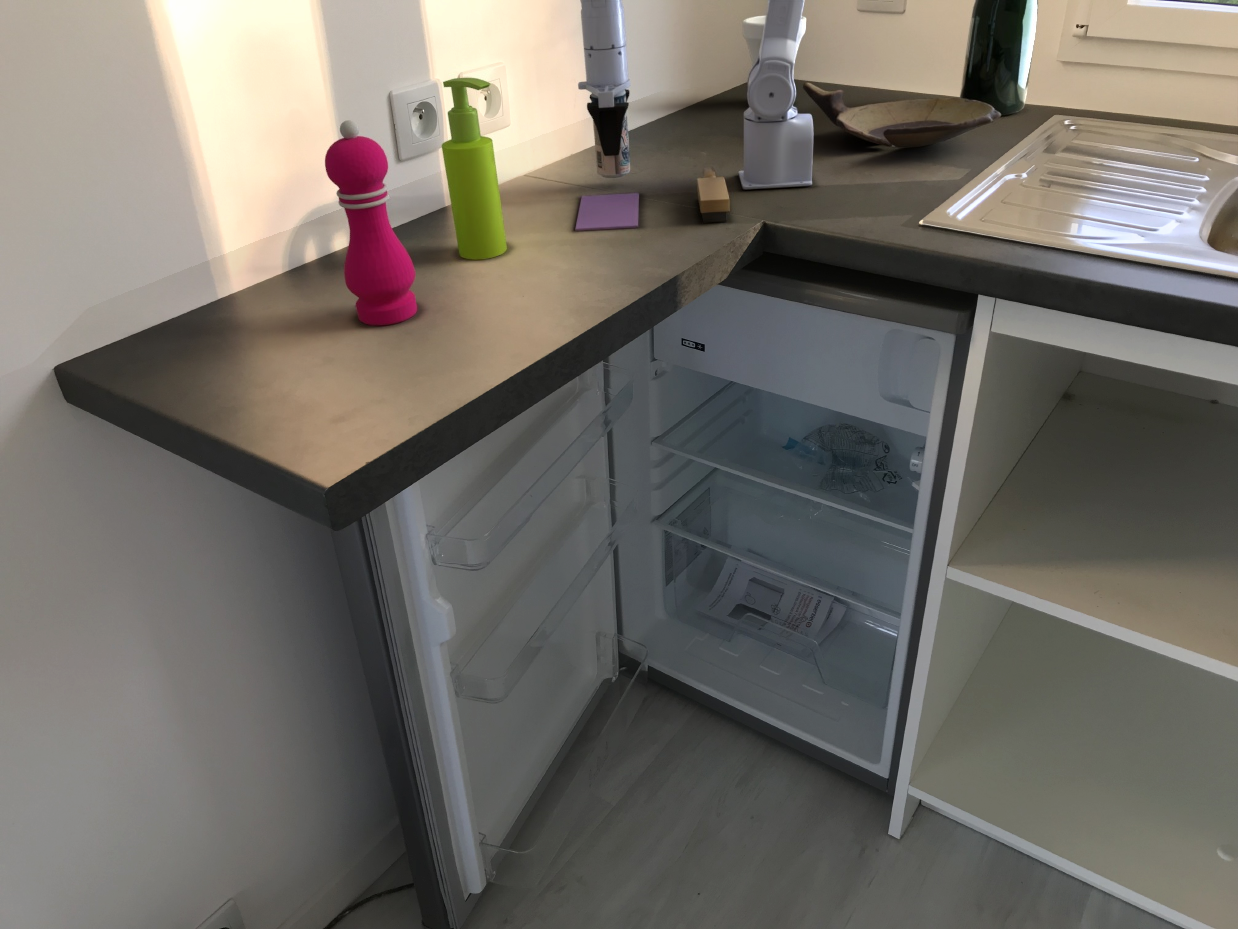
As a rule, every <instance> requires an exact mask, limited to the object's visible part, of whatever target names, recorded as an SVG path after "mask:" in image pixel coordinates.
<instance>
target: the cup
mask: <svg viewBox="0 0 1238 929" xmlns="http://www.w3.org/2000/svg"><path fill="white" fill-rule="evenodd" d="M765 18H766V15H758V16H751V17H747V18H745V19H744V20H743V21H741V22H742V23H741V24H742V36H743V38H744V40H745V43H746V45H747V49H748V53H749V56H750V60H751V68H752V67H753V66H754V64H755V63H756V61H757V59H758V55H759V50H760V45H761V40H762V36H763V30H764V24H765ZM806 31H807V17H805V16H804V15H802V16H801V22H800V27H799V32H798V38H797V44H796V53H795V59H796V58H797V55H798V51H799V48H800V44H801V41H802V39H803V37H804V35H805V33H806ZM795 63H796V61H795V62H794V64H795ZM794 69H795V67H794V68H793V71H794Z"/></svg>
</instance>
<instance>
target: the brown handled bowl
mask: <svg viewBox="0 0 1238 929" xmlns="http://www.w3.org/2000/svg"><path fill="white" fill-rule="evenodd" d="M802 89H803V90H804V92H806V94H807V95H808V96H809V97H810V99H811V100H812V101H813V102H814V103H815V104H816V105H817V106H818V107H819V109H820V110H821V111H822V112H823V113H824V115H825V116H826V117H827V119H829V120H830V122H831V123H832V124H834V125H835V126H836V127H838V128H840V129H841V130H843V131H845V132H846V133H848V134H850V135H852V136H855V137H856V138H859V139H861V140H864V141H867V142H870V143H873V144H876V145H880V146H884V147H893V148H894V147H896V148H921V147H926V146H932V145H934V144H938V143H941V142H945V141H947V140H950V139H953V138H956V137H958V136H961V135H963V134H965V133H968V132H971V131H972V130H975V129H977V128H980V127H982V126H985V125H989V124H991V123H993V121H994V120H997V119H999V118H1001V116H1002V115H1001V114H1000V113H999V112H998V111H996V110H994V108H993V107H992V106H991V105H989V104H987V103H983V102H980V101H976V100H968V99H963V98H960V97H952V98H946V97H929V98H913V99H912V98H911V99H910V98H909V99H902V100H892V101H886V102H885V101H884V102H879V103H876V102H875V103H869V104H864V105H859V106H854V107H848V106H847V105H845V104H844V101H843V100H844V98H843V96H844V90H842V89H837V90H834V91H828V90H824V89H822V88H820V87H818V86H817V85H814V84H813V83H810V82H804V83H803V85H802Z"/></svg>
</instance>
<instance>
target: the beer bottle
mask: <svg viewBox="0 0 1238 929" xmlns="http://www.w3.org/2000/svg"><path fill="white" fill-rule="evenodd" d="M1038 11H1039V0H974V4H973V6H972V12H971V17H970V23H969V28H968V30H969V31H968V36H967V42H966V49H965V57H964V62H963V63H964V64H963V69H962V70H963V71H962V77H961V85H960V93H959V98H963V99H968V100H976V101H980V102H983V103H987V104H989V105H991V106H992V107H993V108H994V110H996V111H998V112H999V113H1000V114H1001V116H1008V115H1013V114H1016V113H1019V112H1021V111H1022V110H1023V109H1024V108H1025V106H1026V105H1025V104H1026V100H1027V94H1028V87H1029V80H1030V74H1031V66H1032V59H1033V53H1034V45H1035V37H1036V30H1037V22H1038V21H1037V20H1038V13H1039V12H1038Z"/></svg>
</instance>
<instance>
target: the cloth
mask: <svg viewBox="0 0 1238 929" xmlns="http://www.w3.org/2000/svg"><path fill="white" fill-rule="evenodd" d="M580 198H581V199H580V203H579V209H578V213H577V217H576V225H575V232H580V231H595V230H596V231H598V230H599V231H600V230H619V229H635V228H639V209H640V208H639V207H640V206H639V205H640V204H639V201H640V193H639V192H630V193H614V194H613V193H611V194H596V195H582V196H581V197H580Z"/></svg>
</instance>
